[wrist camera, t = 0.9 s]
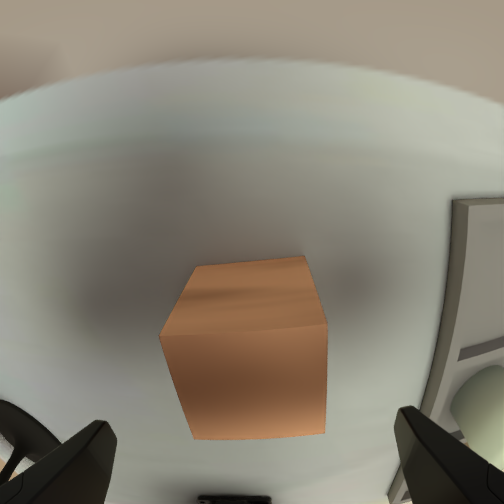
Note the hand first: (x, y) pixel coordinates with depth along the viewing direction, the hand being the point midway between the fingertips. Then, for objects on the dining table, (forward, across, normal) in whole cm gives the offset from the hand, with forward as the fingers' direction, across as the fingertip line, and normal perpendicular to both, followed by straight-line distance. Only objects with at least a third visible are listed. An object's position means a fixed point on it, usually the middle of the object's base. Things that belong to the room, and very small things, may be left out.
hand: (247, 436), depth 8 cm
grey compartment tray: (+8, -15, +9) cm, 19 cm away
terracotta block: (+8, 0, 0) cm, 8 cm away
